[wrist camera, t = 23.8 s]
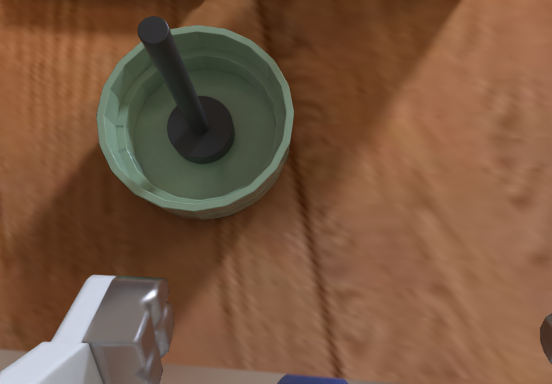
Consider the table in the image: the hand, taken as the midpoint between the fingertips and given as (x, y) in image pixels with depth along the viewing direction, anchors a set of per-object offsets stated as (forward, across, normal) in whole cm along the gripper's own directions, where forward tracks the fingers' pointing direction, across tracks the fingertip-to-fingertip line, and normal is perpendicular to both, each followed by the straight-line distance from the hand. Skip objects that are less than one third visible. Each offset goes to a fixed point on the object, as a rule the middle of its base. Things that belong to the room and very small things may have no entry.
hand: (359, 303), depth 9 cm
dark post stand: (+27, +9, +9) cm, 30 cm away
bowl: (+28, +9, +10) cm, 30 cm away
